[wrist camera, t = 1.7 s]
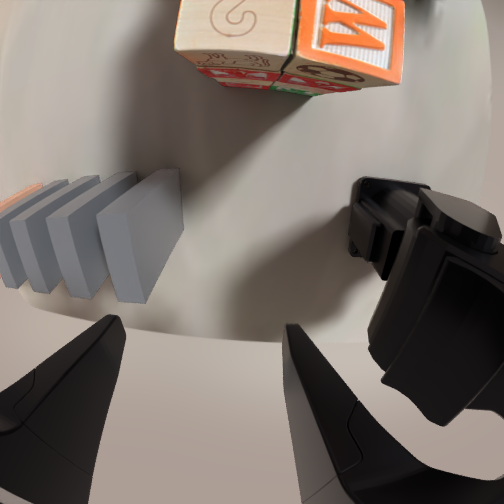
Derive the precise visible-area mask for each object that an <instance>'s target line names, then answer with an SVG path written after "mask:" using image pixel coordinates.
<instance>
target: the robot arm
mask: <svg viewBox="0 0 504 504" xmlns="http://www.w3.org/2000/svg"><path fill="white" fill-rule="evenodd" d="M365 181H368V185H367V186H364V182H365ZM348 235H349V236H350V243H349V248H348V251H349V253H350V255H351V256H352V257H363V258H364V260H365V261H366V262H367V263H372V265H373V267H374V268H375V270H376V271H377V273H378V274H379V276H380V278H381V279H382V280H384V281H387V282H386V285H385V287H384V290H383V292H382V295H381V297H380V300H379V302H378V304H377V307H376V309H375V311H374V314H373V316H372V318H371V320H370V324H369V327H368V339H369V343H370V345H369V347H368V350H369V352H370V354H371V356H372V358H373V359H374V360H375V362H376V363H377V364H378V365H379V366H380V368H381V369H382V370H384V371H385V372H386V373H385V374H384V376H383V377H382V378H381V382H382V383H383V384H385V385H387V386H390V387H392V388H394V389H396V390H398V391H399V392H401V393H402V394H404V395H405V396H406V397H408V398H409V399H410V400H411V401H412V402H413V403H414V404H415V405H416V406H417V408H418V409H419V410H420V411H421V412H422V414H423V415H424V416H425V417H426V418H427V419H428V420H429V421H431V422H433V423H435V424H437V425H439V426H446V425H448V424H449V423H450V422H451V421H452V420H453V419H454V418H455V417H456V416H457V415H459V414H460V412H462V411H463V410H464V409H473V410H488V411H493V412H495V413H496V414H498V415H499V416H500V417H501V418H502V419H504V245H503V244H502V243H500V241H501V239H502V234H501V231H500V228H499V225H498V222H497V219H496V216H495V215H493V214H492V213H490V212H488V211H486V210H485V209H483V208H481V207H479V206H478V205H476V204H474V203H472V202H470V201H467V200H463V199H460V198H457V197H453V196H450V195H446V194H443V193H439V192H436V191H432V190H431V189H430V187H429V186H428V185H426V184H421V183H414V182H407V181H400V180H392V179H384V178H376V177H367V176H365V177H362V178H361V179H360V181H359V186H358V193H357V200H356V202H355V203H354V205H353V208H352V214H351V221H350V227H349V233H348ZM354 249H357V250H356V251H355V252H353V250H354ZM125 341H126V333H125V330H124V327H123V324H122V322H121V319H120V317H119V316H117V315H110V314H109V315H106V316H105V317H103V318H102V319H101V320H99V321H98V322H96V323H95V324H94V325H92V326H91V327H89V328H88V329H87V330H85V331H84V332H83V333H81V334H80V335H79V336H77V337H76V338H74V339H73V340H72V341H71V342H69V343H67V344H66V345H65V346H64V347H62V348H61V349H59V350H58V351H57V352H56V353H54V354H53V355H52V356H50V357H49V358H47V359H46V360H45V361H43V362H42V363H41V364H39V365H38V366H37V367H36V369H35V368H34V369H33V370H32V371H30V372H29V373H28V374H26V375H25V376H24V377H22V378H21V379H20V380H18V381H17V382H15V383H14V384H12V385H11V386H9V387H8V388H7V389H5V390H3V391H2V392H0V504H88V501H89V495H90V489H91V483H92V478H93V477H92V476H93V472H94V467H95V462H96V457H97V453H98V449H99V444H100V440H101V436H102V432H103V428H104V424H105V420H106V417H107V413H108V409H109V406H110V402H111V398H112V395H113V392H114V389H115V385H116V382H117V378H118V374H119V369H120V364H121V360H122V355H123V350H124V346H125ZM282 356H283V385H284V395H285V401H286V407H287V413H288V420H289V425H290V432H291V438H292V444H293V451H294V457H295V463H296V470H297V476H298V482H299V489H300V495H301V502H302V504H504V474H503V475H502V476H500V477H499V478H497V479H495V480H481V479H475V478H470V477H465V476H462V475H457V474H453V473H449V472H445V471H441V470H438V469H434V468H432V467H429V466H427V465H425V464H424V463H422V462H421V461H419V460H418V459H416V458H415V457H414V456H413V455H412V454H411V453H410V452H409V451H408V450H406V449H405V448H404V447H403V446H402V445H401V444H400V443H399V442H398V441H397V440H395V438H394V437H392V436H391V435H390V434H389V433H388V432H387V431H386V430H385V429H384V428H383V427H382V426H381V425H380V424H379V423H378V422H377V421H376V420H375V418H374V417H373V416H372V415H371V414H370V413H369V411H368V410H367V409H366V408H365V407H364V405H363V404H362V403H361V402H360V401H357V400H358V398H357V397H356V396H355V394H354V393H353V392H352V391H351V389H350V388H349V387H348V386H347V384H346V383H345V382H344V381H343V379H342V378H341V377H340V376H339V374H338V373H337V372H336V371H335V370H334V368H333V367H332V366H331V364H330V363H329V362H328V361H327V359H326V358H325V357H324V356H323V355H322V353H321V352H320V351H319V349H318V348H317V347H316V346H315V344H314V343H313V342H312V341H311V339H310V338H309V337H308V336H307V334H306V333H305V332H304V330H303V329H302V328H301V327H300V325H299V324H285V326H284V333H283V341H282Z"/></svg>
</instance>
